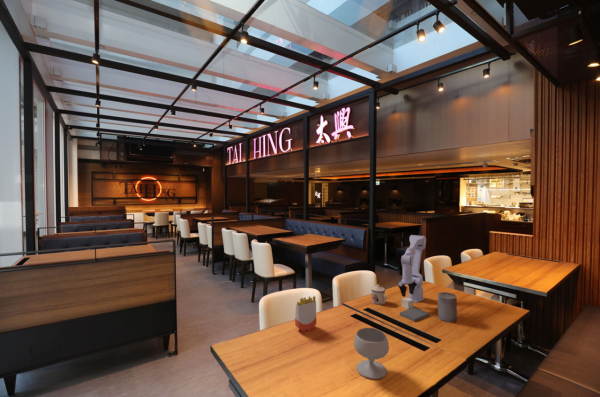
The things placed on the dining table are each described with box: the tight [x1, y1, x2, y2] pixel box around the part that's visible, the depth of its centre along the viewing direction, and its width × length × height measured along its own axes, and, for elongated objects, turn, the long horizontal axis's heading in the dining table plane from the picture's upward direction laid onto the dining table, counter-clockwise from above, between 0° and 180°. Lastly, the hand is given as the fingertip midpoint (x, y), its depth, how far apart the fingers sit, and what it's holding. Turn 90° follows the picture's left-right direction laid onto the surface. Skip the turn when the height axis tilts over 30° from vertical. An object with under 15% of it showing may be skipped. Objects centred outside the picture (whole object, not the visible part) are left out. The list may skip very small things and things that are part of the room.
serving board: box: [399, 306, 430, 322], centre depth 164 cm, size 14×10×2 cm
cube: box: [401, 296, 414, 310], centre depth 176 cm, size 5×5×5 cm
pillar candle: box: [437, 291, 458, 323], centre depth 159 cm, size 10×10×15 cm
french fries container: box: [294, 295, 317, 332], centre depth 149 cm, size 5×11×18 cm, turn 118°
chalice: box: [353, 327, 390, 380], centre depth 114 cm, size 14×14×15 cm
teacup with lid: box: [370, 284, 388, 306], centre depth 183 cm, size 12×9×12 cm
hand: (407, 295), depth 176 cm, fingers open, 7 cm apart
